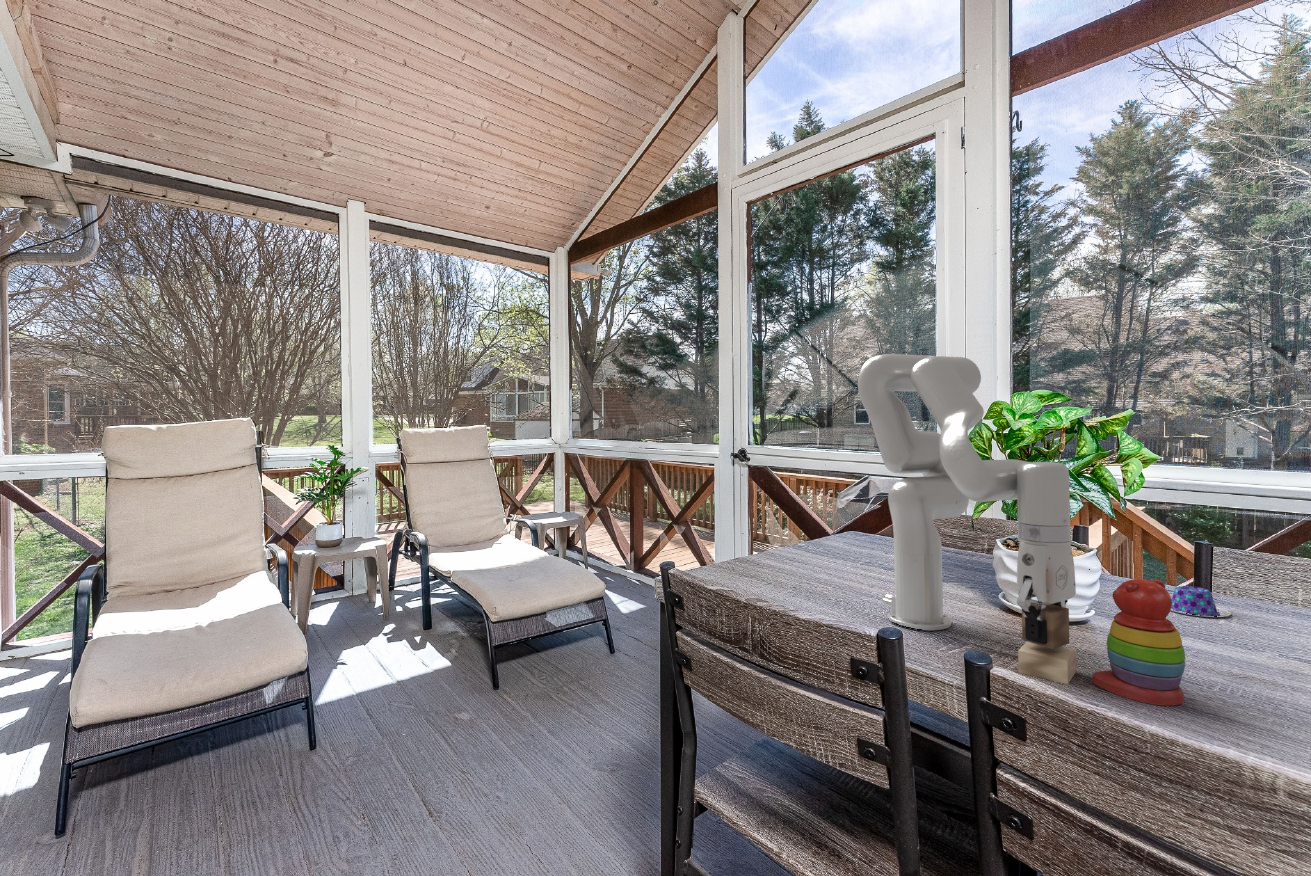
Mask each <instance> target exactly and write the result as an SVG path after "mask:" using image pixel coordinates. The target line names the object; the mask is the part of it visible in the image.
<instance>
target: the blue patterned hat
mask: <svg viewBox="0 0 1311 876" xmlns="http://www.w3.org/2000/svg"><path fill="white" fill-rule="evenodd" d="M1171 599H1172V607H1171V610H1170V612H1175V613H1178V614H1183V615H1187V616H1188V615H1189V616H1196V617H1201V616H1200V615H1203V616H1202V618H1203V617H1205V618H1215V617H1214V616H1211V615H1217V614H1218V615H1219V613H1217V609H1219V611H1223V612H1225V613H1224V614H1225V615H1221V616H1218V615H1217V617H1216V618H1223V617H1230V616H1231V614H1232V613H1231V612H1230V611H1228V610H1226V609H1225V608H1222V607H1218V606H1216V603H1215V600H1214V596H1213V593H1212V592H1211V591H1210V590H1209V589H1208V588H1202V587H1199V586H1192V585H1191V586H1190V585H1179V586H1176V587H1175V588H1174V591H1173V594H1172V596H1171ZM1172 609H1173V610H1175V611H1173V610H1172ZM1178 611H1182V612H1178ZM1183 612H1186V613H1189V614H1186V613H1183ZM1192 614H1199V615H1192ZM1209 615H1210V616H1209Z"/></svg>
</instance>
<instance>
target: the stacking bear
mask: <svg viewBox="0 0 1311 876" xmlns="http://www.w3.org/2000/svg"><path fill="white" fill-rule="evenodd" d="M1112 599H1113V602H1114V604H1115V606H1116V607H1117V608H1118V609H1119V610H1120V611H1119V612H1117V613H1116V614H1115V615H1114V616H1113V620H1112V621H1111V625H1110V628H1109V633H1108V635H1107V638H1106V651H1107V657H1108V659H1109V665H1110V669H1111V670H1100V671H1095V672H1094V673H1093V674H1092V676H1091V682H1092V683H1093V684H1095V685H1096V686H1097V687H1099V688H1101V689H1104V691H1105V690H1106V691H1107V692H1110V693H1113V694H1115V695H1117V696H1121V697H1123V698H1126V699H1129V700H1133V701H1137V702H1140V703H1143V704H1149V705H1156V706H1170V707H1171V706H1179V705H1182V704H1183V703H1184V702H1185V695H1184V692H1183V690H1182V688H1181V686H1180V684H1181V682H1182V679H1183V674H1184V673H1185V668H1186V661H1185V660H1186V654H1185V648H1184V645H1183V640H1182V637H1181V634H1180V631H1179V630H1178V628H1176V627H1175V625H1174V623H1173V622H1172V621H1170V619H1168V618H1167V617H1168V616H1169V614H1170V612H1171V610H1172V608H1171V607H1172V596H1171V595H1170V593H1169V591H1168V590H1167V589H1166V584H1165V583H1164V582H1163V581H1162V580H1160V579H1154V580H1153V581H1151V580H1148V579H1140V578H1139V579H1138V578H1135V579H1134V578H1133V579H1130V580H1126V581H1124V582H1122V583H1121V584H1120V585H1119V586H1118V587H1117V588H1116V589H1115V590H1113V592H1112Z"/></svg>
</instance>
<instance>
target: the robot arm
mask: <svg viewBox="0 0 1311 876" xmlns="http://www.w3.org/2000/svg"><path fill="white" fill-rule="evenodd" d="M981 375H982V374H981V371H980V368H979V367H978V365H977V364H976V363H975V362H974V361H973V360H971V359H969V358H967V357H963V356H946V355H945V356H944V355H943V356H942V355H941V356H938V355H928V354H927V355H926V354H925V355H924V354H905V353H904V354H902V353H901V354H900V353H884V354H878V355H874V356H872V357H870V358H868V359H867V360H866V361H864V363H863V364H862V366H861V368H860V371H859V374H858V379H857V389H858V390H857V392H858V394H859V399H860V401H861V403H862V405H863V408H864V410H865V411H866V414H867V416H868V419H869V420H870V423H871V426H872V429H873V433H874V436H875V439H876V443H877V446H878V450H879V452H880V455H881V459H882V461H883V464H884V466H885V468H886V469H887V470H888V471H889V472H892V473H894V474H899V475H900V474H905V475H906V474H922V476H911V477H906V478H902V479H900V480H898V481H896V482H895V483H893V484H892V486H891V487H890V489H889V492H888V496H887V501H888V502H887V503H888V508H889V513H890V517H891V522H892V530H893V552H894V553H893V554H894V556H893V559H894V594H891V593H886V594H885V596H884V597H883V598H882V604H885V605H888V606H890V607H891V608H890V609H891V610H890V611H888V614H887V619H888V618H889V619H888V620H889V621H890V622H891V621H893V622H895V623H900V624H902V625H905V626H906V627H911V628H917V629H922V630H921V631H942V630H946V629H948V628H950V627H951V626H952V619H951V617H950V616H948V615H946V614H944V598H943V597H944V596H943V595H944V593H943V550H942V549H943V547H942V539H941V535H940V533H939V531H938V528H937V527H936V526H935V523H934V521H936V520H944V519H946V520H947V519H953V518H957V517H960V516H961V515H962V514H964V513H965V511H967V509H968V506H969V502H970V501H974V502H977V503H982V502H984V503H985V502H997V501H1013V500H1017V502H1016V503H1017V506H1016V507H1017V541H1018V542H1019V544H1018V551H1017V553H1018V554H1017V561H1016V563H1017V565H1016V588H1017V595H1018V596H1017V600H1016V604H1017V606H1019V608H1020V609H1021V612H1022V611H1023V616H1024V617H1025V636H1026V639H1027V640H1029V641H1033V642H1036V643H1039V644H1043V645H1044V644H1047V621H1045V620H1044V614H1045V607H1046V605H1051V604H1052V605H1056V606H1060V607H1065V608H1067V607H1066V605H1067V603H1068V601H1069V600H1070V599H1072V598H1074V597H1075V596H1076V593H1077V587H1076V574H1075V571H1076V569H1075V563H1074V554H1073V550H1072V549H1073V548H1072V545H1071V508H1070V506H1071V503H1070V499H1071V497H1070V471H1069V468H1068V467H1067V466H1066V464H1063V463H1061V462H1052V461H1050V462H1049V461H1033V462H1031V461H1026V460H1020V459H983V460H982V458H981V456H980V455H979V454H978V452H977V451H976V449H975V448H974V446H973V445H972V443H971V440H970V437H969V431H970V430H971V429H972V428H974V427H975V426H976V425H977V424H978V423H980V421H981V420H982V418H983V417H984V408H983V406H982V404H981V403H980V401H979V400H978V399H977V398H976V396H975V395H974V393H975V392H976V391H977V390H978V389H979V387H980V384H981V382H982V376H981ZM895 392H917V394H918V396H919V397H920V399H921V400H922V402H923V404H924V405H925V406H926V408H927V410H928V411H929V412H930V414H931V416H932V418H933V419H934V421H935V422H936V424H937V426H938V427H939V428H940V433H938V432H935V431H931V430H930V431H928V430H927V431H926V430H925V431H919V430H917V428H916V427H915V425H914V422H913V420H912V416H911V412H910V411H909V409H908V408H907V406H906V405H905V403H903V402H902V400H901V399H900V398H899V397H897V396H896V394H895ZM1032 598H1036V600H1035V599H1032ZM1032 603H1033V604H1038V611H1037V609H1036V608H1035V606H1032ZM906 627H905V628H906ZM911 628H910V629H911ZM917 629H916V630H917Z"/></svg>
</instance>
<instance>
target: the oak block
mask: <svg viewBox="0 0 1311 876" xmlns="http://www.w3.org/2000/svg"><path fill="white" fill-rule="evenodd" d="M1017 658H1018V659H1017V660H1018V661H1017V662H1018V664H1017V665H1018V666H1017V668H1018V673H1020V674H1024V675H1028V676H1032V677H1035V678H1036V677H1037V678H1040V679H1044V680H1048V681H1052V682H1057V683H1061V684H1065V685H1069V684H1070V682H1071V680H1072V679H1073V677H1074V675H1075V674H1076V673H1077V649H1075V648H1071V647H1066V646H1061V647H1058V648H1055V649H1051V648H1048V647H1044V646H1041V645H1037V644H1034V643H1031V642H1027V641H1025V643H1024V644H1023V645H1021V647H1020V648H1019V649H1018V650H1017Z"/></svg>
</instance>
